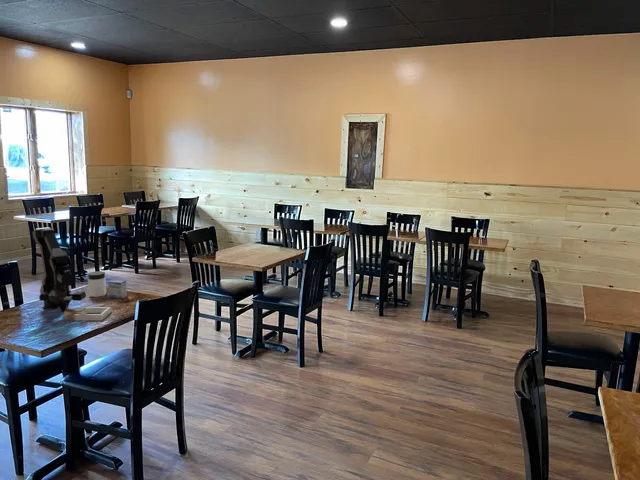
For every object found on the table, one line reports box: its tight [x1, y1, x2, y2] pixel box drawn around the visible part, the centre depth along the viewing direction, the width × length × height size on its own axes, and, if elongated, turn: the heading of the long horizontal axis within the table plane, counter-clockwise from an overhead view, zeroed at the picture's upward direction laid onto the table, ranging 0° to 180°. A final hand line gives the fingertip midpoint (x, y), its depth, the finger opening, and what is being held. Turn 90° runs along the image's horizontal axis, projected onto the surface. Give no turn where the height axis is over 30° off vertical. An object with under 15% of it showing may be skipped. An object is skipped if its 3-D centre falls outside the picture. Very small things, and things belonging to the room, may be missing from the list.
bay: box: [73, 306, 112, 321], centre depth 219 cm, size 12×11×2 cm
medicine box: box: [107, 279, 128, 299], centre depth 248 cm, size 8×4×9 cm, turn 81°
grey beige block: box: [63, 307, 88, 320], centre depth 218 cm, size 8×5×4 cm, turn 93°
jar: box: [87, 270, 107, 298], centre depth 251 cm, size 9×8×12 cm
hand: (64, 313), depth 218 cm, fingers closed
